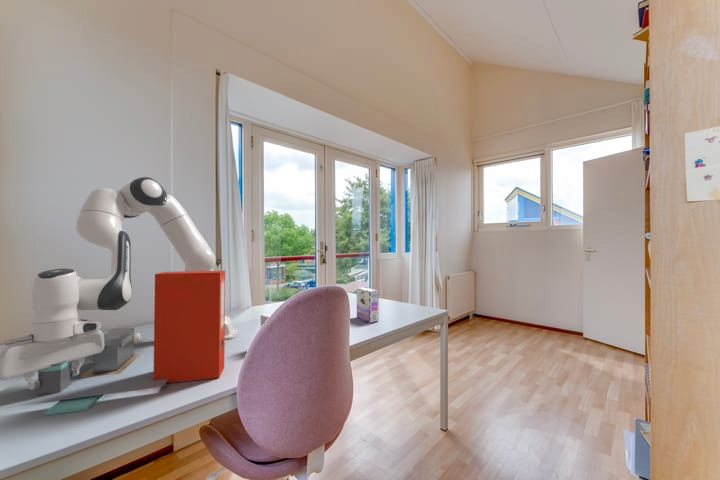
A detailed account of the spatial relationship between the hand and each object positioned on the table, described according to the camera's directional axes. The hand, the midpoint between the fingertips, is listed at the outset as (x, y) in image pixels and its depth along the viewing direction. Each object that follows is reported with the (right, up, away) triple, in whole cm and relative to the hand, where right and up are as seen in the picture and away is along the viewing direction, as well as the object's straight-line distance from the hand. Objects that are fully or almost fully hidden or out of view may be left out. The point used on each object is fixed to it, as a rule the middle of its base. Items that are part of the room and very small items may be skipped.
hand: (55, 381), depth 77 cm
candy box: (+86, -5, +76) cm, 115 cm away
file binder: (+30, -4, +11) cm, 32 cm away
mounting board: (+2, -4, +15) cm, 16 cm away
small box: (+48, -4, +36) cm, 60 cm away
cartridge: (0, -4, 0) cm, 4 cm away
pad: (+10, -4, -4) cm, 11 cm away
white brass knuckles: (-12, -5, +34) cm, 36 cm away
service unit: (+2, -2, +16) cm, 16 cm away
